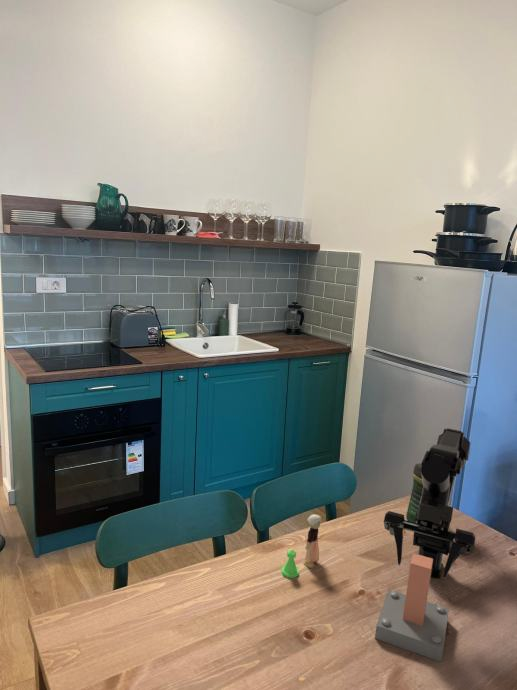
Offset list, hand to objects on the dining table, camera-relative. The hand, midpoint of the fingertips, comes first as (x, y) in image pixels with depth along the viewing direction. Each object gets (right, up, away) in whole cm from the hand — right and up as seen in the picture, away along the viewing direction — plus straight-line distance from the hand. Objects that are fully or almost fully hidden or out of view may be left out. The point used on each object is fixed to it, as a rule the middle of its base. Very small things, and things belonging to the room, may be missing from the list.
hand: (421, 571), depth 113 cm
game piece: (-27, -7, +16) cm, 32 cm away
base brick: (-2, -12, 0) cm, 12 cm away
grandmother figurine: (-21, -7, +22) cm, 31 cm away
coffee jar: (+14, -5, +44) cm, 47 cm away
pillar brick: (-2, -9, -1) cm, 9 cm away
